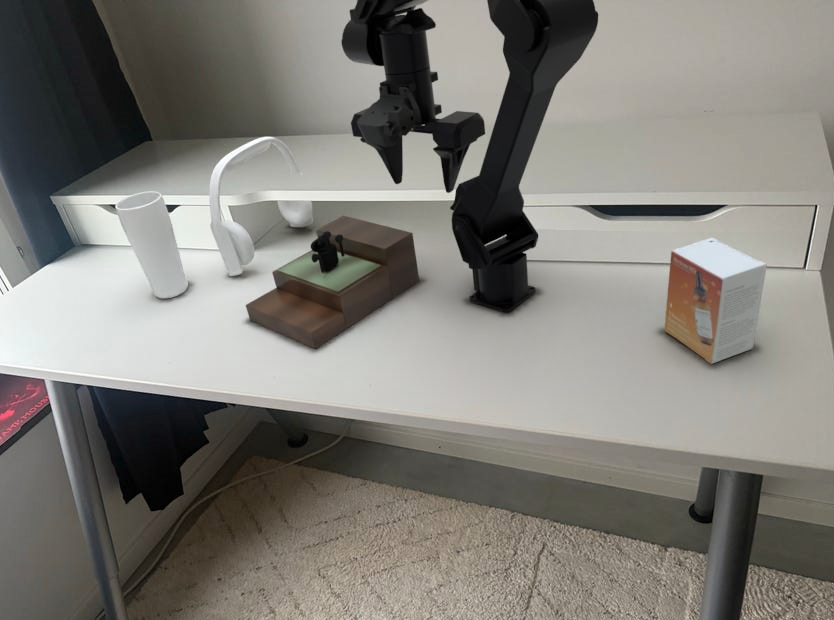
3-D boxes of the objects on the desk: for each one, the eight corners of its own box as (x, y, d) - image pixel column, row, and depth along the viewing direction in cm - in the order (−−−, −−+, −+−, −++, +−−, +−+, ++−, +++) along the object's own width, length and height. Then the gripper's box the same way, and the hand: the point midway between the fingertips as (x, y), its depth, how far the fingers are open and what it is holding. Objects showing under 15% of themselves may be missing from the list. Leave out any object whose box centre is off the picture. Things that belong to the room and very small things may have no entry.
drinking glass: (141, 302, 109) (104, 210, 101) (163, 281, 114) (130, 191, 106) (180, 302, 107) (146, 208, 99) (201, 280, 113) (170, 189, 104)
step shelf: (419, 281, 102) (412, 232, 98) (315, 349, 91) (302, 298, 87) (352, 260, 111) (343, 215, 106) (249, 320, 100) (235, 272, 95)
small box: (663, 331, 83) (668, 249, 77) (703, 317, 84) (712, 235, 78) (711, 365, 76) (722, 278, 71) (754, 349, 78) (768, 262, 72)
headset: (248, 283, 109) (214, 170, 99) (215, 277, 113) (179, 167, 103) (325, 228, 123) (302, 123, 113) (293, 224, 126) (268, 122, 116)
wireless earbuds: (321, 281, 95) (312, 246, 92) (305, 278, 96) (297, 244, 93) (349, 257, 100) (342, 223, 97) (334, 255, 101) (327, 222, 98)
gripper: (311, 84, 91) (335, 200, 100) (423, 90, 80) (440, 220, 88) (370, 61, 98) (388, 171, 106) (482, 64, 86) (492, 188, 95)
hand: (423, 187), depth 99 cm, fingers open, 9 cm apart
